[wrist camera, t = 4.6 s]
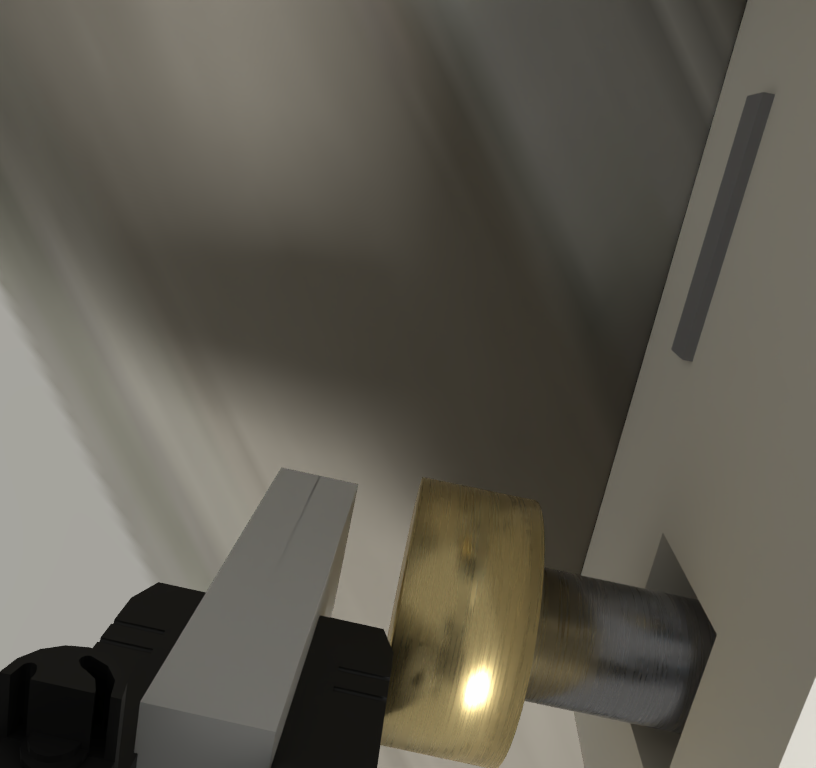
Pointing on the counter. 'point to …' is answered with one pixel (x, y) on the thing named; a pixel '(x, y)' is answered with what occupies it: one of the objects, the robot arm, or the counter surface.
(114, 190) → the counter surface
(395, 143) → the counter surface
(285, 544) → the robot arm
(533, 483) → the counter surface
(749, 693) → the console
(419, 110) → the counter surface
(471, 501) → the knob
